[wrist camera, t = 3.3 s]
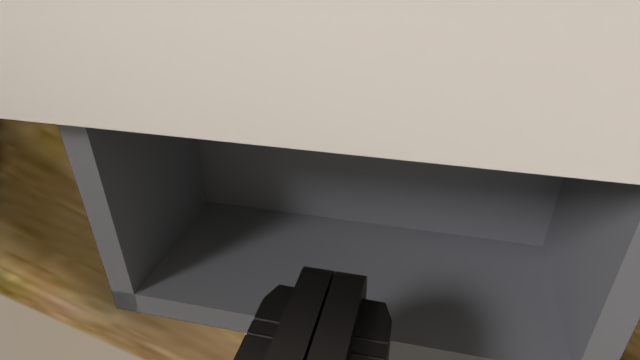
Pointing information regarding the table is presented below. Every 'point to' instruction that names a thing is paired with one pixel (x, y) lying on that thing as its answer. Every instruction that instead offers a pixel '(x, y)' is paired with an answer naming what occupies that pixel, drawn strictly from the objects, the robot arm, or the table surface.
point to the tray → (366, 242)
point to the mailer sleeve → (343, 77)
